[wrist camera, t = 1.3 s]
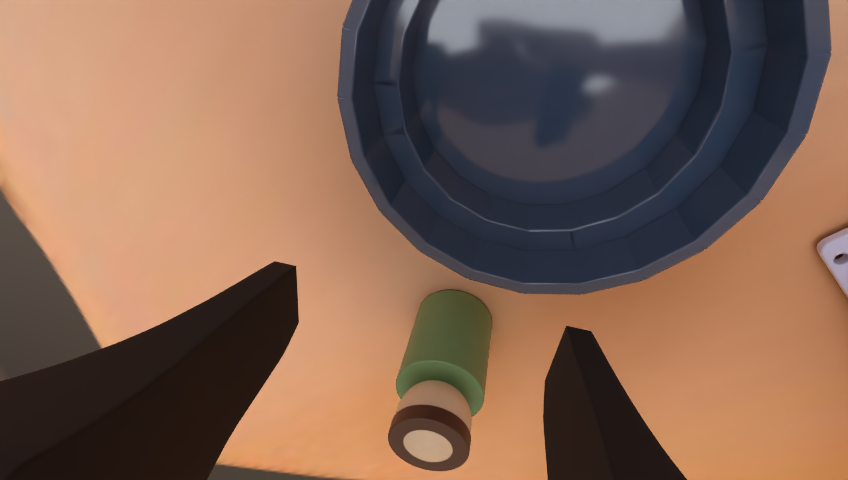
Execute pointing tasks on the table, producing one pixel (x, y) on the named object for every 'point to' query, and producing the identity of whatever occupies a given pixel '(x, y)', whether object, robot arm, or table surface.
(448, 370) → the peg doll
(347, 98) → the bowl
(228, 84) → the table surface
